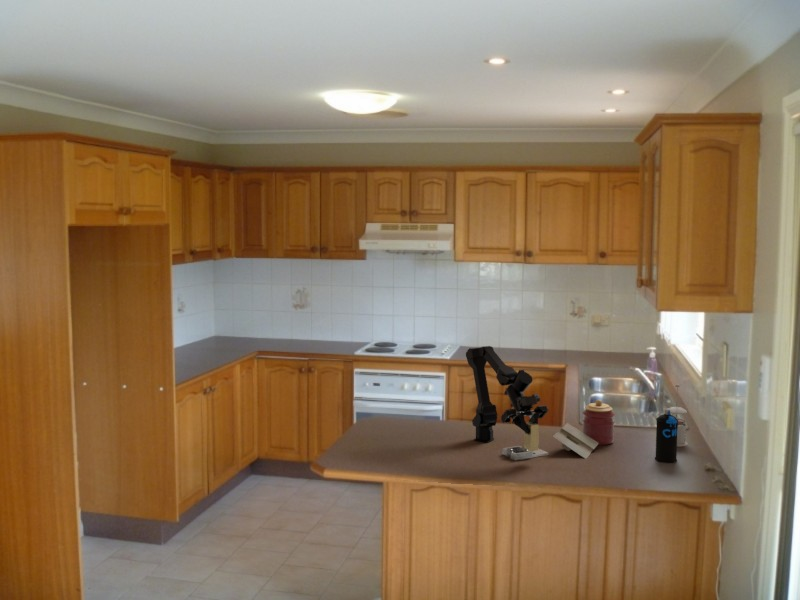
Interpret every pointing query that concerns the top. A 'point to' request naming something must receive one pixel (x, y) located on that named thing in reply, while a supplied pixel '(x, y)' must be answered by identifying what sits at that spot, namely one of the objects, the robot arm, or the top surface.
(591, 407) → the canister
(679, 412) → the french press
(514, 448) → the hinge base
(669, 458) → the aerosol can
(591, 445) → the pale grey slotted block
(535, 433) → the tan rectangular pillar
